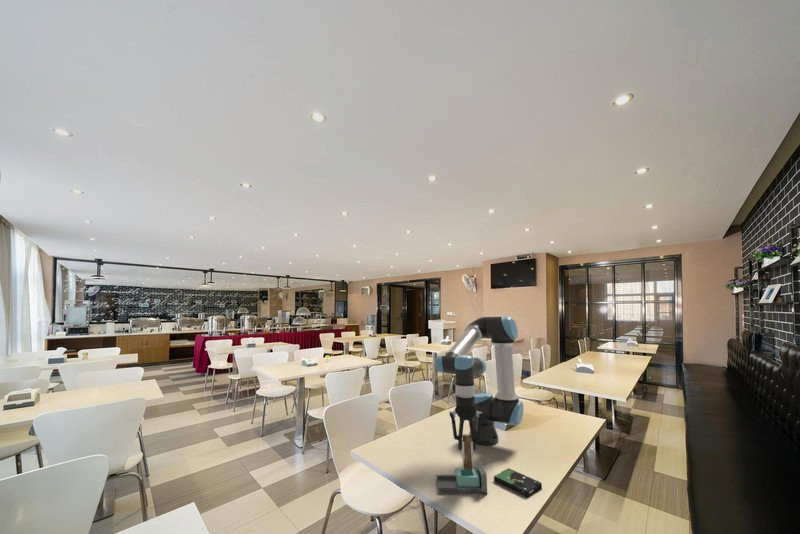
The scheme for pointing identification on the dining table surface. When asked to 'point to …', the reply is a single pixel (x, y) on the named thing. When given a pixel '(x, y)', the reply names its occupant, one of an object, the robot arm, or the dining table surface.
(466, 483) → the block
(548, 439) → the dining table surface
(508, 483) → the disk drive
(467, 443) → the dowel
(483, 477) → the rail base
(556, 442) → the dining table surface
